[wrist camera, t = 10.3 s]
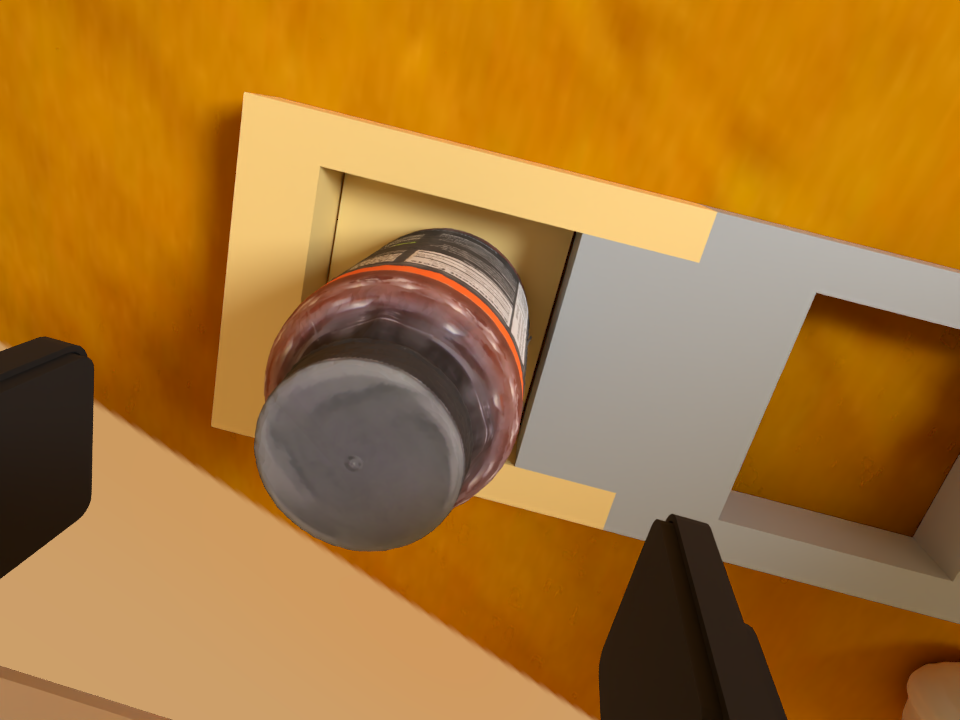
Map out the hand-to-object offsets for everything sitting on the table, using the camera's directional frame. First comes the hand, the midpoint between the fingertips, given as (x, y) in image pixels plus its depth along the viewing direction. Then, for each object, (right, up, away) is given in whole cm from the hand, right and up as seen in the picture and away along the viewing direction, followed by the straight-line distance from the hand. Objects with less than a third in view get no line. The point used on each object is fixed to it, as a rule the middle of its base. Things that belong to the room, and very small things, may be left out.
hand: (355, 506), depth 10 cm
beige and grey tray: (+8, +2, +12) cm, 15 cm away
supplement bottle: (+1, +4, +12) cm, 13 cm away
